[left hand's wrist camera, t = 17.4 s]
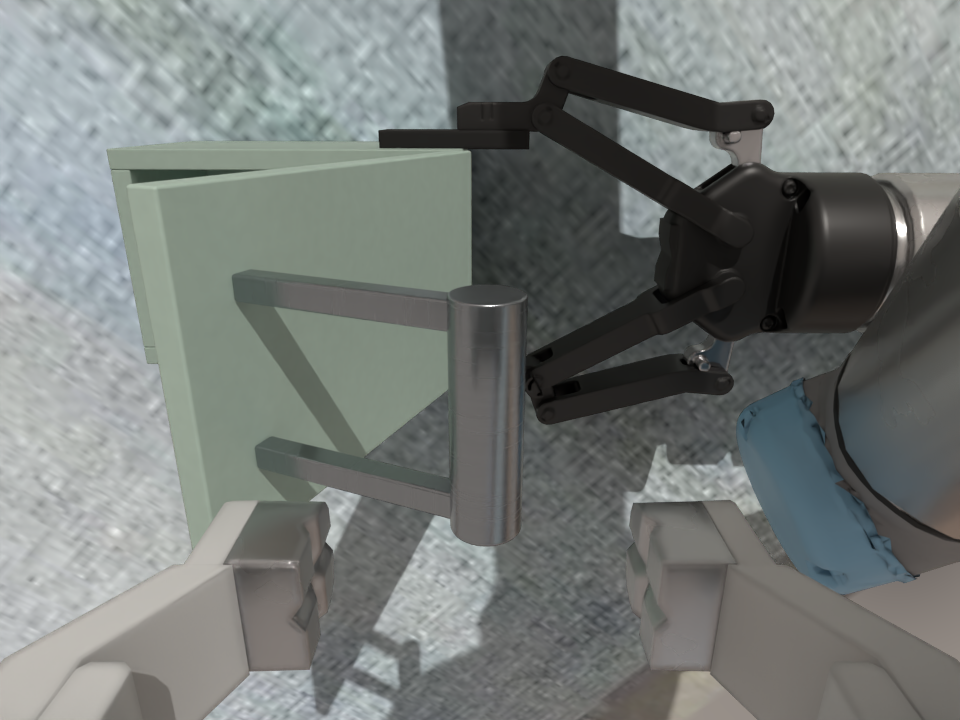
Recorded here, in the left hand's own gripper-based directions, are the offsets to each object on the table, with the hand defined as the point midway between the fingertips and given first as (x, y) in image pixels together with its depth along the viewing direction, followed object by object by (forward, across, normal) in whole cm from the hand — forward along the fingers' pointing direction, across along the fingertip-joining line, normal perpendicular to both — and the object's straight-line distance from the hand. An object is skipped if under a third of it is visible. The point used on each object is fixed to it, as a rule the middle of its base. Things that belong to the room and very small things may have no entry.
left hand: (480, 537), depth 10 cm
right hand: (+22, +4, 0) cm, 23 cm away
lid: (+13, +4, 0) cm, 13 cm away
